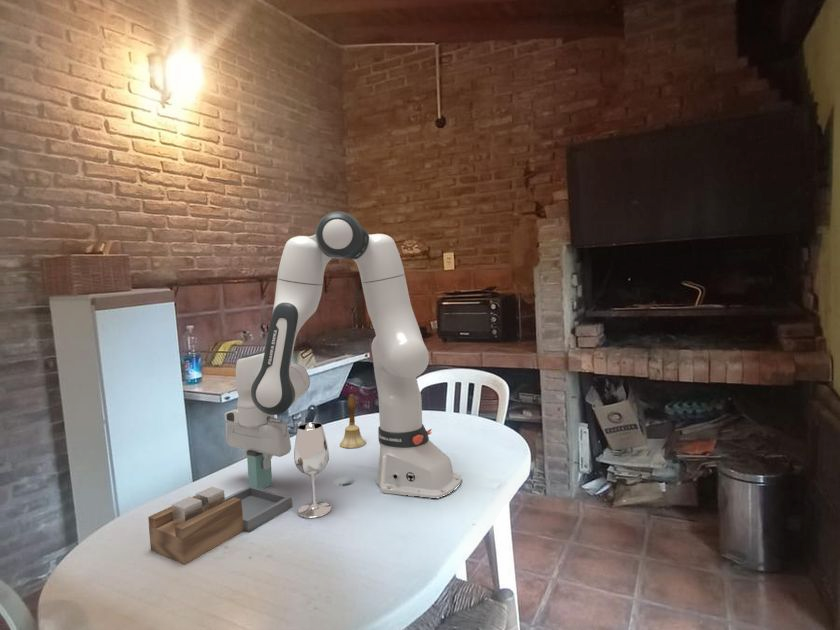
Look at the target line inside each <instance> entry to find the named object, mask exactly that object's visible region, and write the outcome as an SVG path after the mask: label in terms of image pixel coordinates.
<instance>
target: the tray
mask: <svg viewBox="0 0 840 630" xmlns="http://www.w3.org/2000/svg"><path fill="white" fill-rule="evenodd" d="M234 497H235V498H238V499H241V503H242V513H243V528H244V531H243V532H246V533H250V532H252V531H254V530H255V529H257V528H259V527H260V526H262V525H264V524H266V523H267V522H270V521H271V520H272V519H275V518H277V517H278V516H280V515H281V514H283V513H285V512H286V511H288V510H290V509H292V508H293V496H291V495H290V496H289V495H287V494H282V493H279V492H275V491H271V490H268V489H264V488H263V489H261V488H257V487H254V486H249V485H248V486H247V487H245V488H242V489H241V490H239V491H236V492H234V493H232V494H230V495H228V496H225V502H226V501H228V500H230V499H232V498H234Z"/></svg>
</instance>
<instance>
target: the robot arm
mask: <svg viewBox="0 0 840 630" xmlns="http://www.w3.org/2000/svg"><path fill="white" fill-rule="evenodd" d="M336 259H337V260H338V259H339V260H340V259H349V260H353V261H354V262H355V263H356V265H357V268H358V272H359V277H360V282H361V286H362V292H363V296H364V301H365V305H366V310H367V314H368V316H369V319H370V322H371V324H372V327H373V330H374V332H375V333H374V334H375V337H374V338H373V340H372V342H371V346H370V349H371V354H372V361H373V364H372V365H373V370H374V372H373V373H374V378H375V384H376V389H377V397H378V411H379V412H378V414H379V416H378V417H379V426H378V432H377V433H378V435H377V436H378V442H379V459H378V460H379V462H378V466H377V467H378V468H377V473H376V477H375V483H376V484H377V485H378V486H379V491H380V493H382V494H391V495H400V496H406V495H408V497H414V496H421V497H420V498H422V497H431V498H437V497H441V496H443V495H446V494H448V493H449V492H451V491H453V490H454V489H455V488H456V487H457V486H458V485H459V484H460V482H461V479H462V475H461V474H458V473H455V472H453V466H452V462H451V459H450V457H449V456H448V455H447V454H446V453H445V452H444V451H442V450H441V449H440V448H439V447H438V446H436V445H435V444H434V442H432V441H431V440H430V437H429V435H431V434H432V433H433V432H432V431H433V430H432V428H430V429H428V430H426V428H425V425H424V423H423V405H422V403H423V402H422V393H421V391H420V387H419V383H418V379H417V377H420V376H421V375H422V374H423V373H425V371H426V370H427V367H428V365H429V363H430V353H429V351H428V348H427V346H426V344H425V343H424V340H423V337H422V336H423V335H422V333H421V330H420V327H419V323H418V321H417V318H416V316H415V312H414V309H413V307H412V303H411V298H410V294H409V289H408V284H407V278H406V273H405V269H404V265H403V261H402V258H401V256H400V253H399V250H398V247H397V244H396V242H395V240H394V239H393V238H392V237H391V236H389V235H387V234H384V233H372V234H369V232H367V231H366V230H365V229H364V227H363V226H362V225H361V223H359V221H358V220H357V219H356V218H355V217H354V216H352V214H349V213H347V212H345V211H332V212H331V211H330V212H329V213H327V214H326V215H324V216H323V217H322V218H321V219H320V220H319V221H318V223H317V225H316V227H315V234H313V235H310V236H307V235H297V236H293V237H292V238H291V237H290V239H288V240H287V241H286V243H285V245H284V248H283V251H282V254H281V257H280V263H279V266H278V271H277V278H276V279H277V280H276V287H275V296H274V301H273V302H274V303H273V309H272V313H271V314H272V315H271V318H270V323H269V328H268V333H267V338H266V343H265V348H264V350H258V351H253V352H250V353H246V354H244V355H241V356H240V357H239V358H238V359H237V360H236V363H235V365H236V366H235V389H236V392H237V396H238V398H237V403H236V405H237V408H236V409H232V410H229V411H227V412H225V413H224V415H223V416H224V420H225V421H226V423H225V428H224V429H225V441H226V443H227V445H228V446H229V447H233V448H237V449H241V450H244V454H245V456H246V457H247V451H248V450H252V451H256V452H259V453H263V457H265V458H264V461H263V462H261V468H262V469H265V470H267V469H269V468H270V461H271V462H272V458H273V456H274V457H278V458H281V457H284V456H286V455H288V454H290V452H291V450H292V445H291V444H292V443H291V438H290V437H291V436H290V432H289V428H288V425H287V423H285V421H284V419H283V418H279V417H275V416H278V415H281V414H283V413H285V412H286V411H288V410H289V408H290V407H291V406H292V405H293V404H294V403H296V402H297V401H298V400H299V399H300V398H302V397H303V396H304V395H305V393H307V391H308V389H309V388H310V383H311V381H310V379H311V378H310V375H309V373H308V371H307V369H306V368H304V367H303V366H302V365H301V364H298V363H295V362H294V363H293V361H292V360H293V354H294V349H295V344H296V339H297V336H298V334H299V332H300V330H301V329H302V327H303V326H304V325H305V323H306V322H307V321H308V320H309V319H310V318H311V317H312V316H313V315H314V314H315V313H316V311H317V309H318V307H319V303H320V301H321V298H322V293H323V287H324V286H323V284H324V277H325V276H324V275H325V271H326V270H325V269H326V266H327V265H328V263H329V262H330V261H331V260H336ZM461 483H462V482H461ZM460 485H461V484H460ZM453 492H454V491H453ZM431 498H430V499H431Z"/></svg>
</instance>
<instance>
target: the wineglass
mask: <svg viewBox="0 0 840 630" xmlns="http://www.w3.org/2000/svg"><path fill="white" fill-rule="evenodd" d="M294 443H295V444H294V451H293V459H294V464H295V467H296V468H297V469H298V471H299V472H301V473H302V474H304V475H306V476H309V477H310V481H311V493H312V494H311V496H312V497H311V498H312V501H311V502H310V503H309V502H308V503H306V504H303V505H302V506H301V507H299V508H298V510H297V514H298V516H300V517H302V518H305V519H315V518H320V517H323V516H326V515H327V514H329V513H330V512H331V511H332V505H331V504H330V503H328V502H324V501H317V500H316V476H317V475H318V474H320V473H321V472H323V470H324V469H326V467H327V466H328V463H329V460H330V451H329V445H328V441H327V437H326V433H325V429H324V426H323V424H322V423H321V422H305V423H301V424H300V425H298V426H297V429H296V436H295V442H294Z"/></svg>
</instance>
